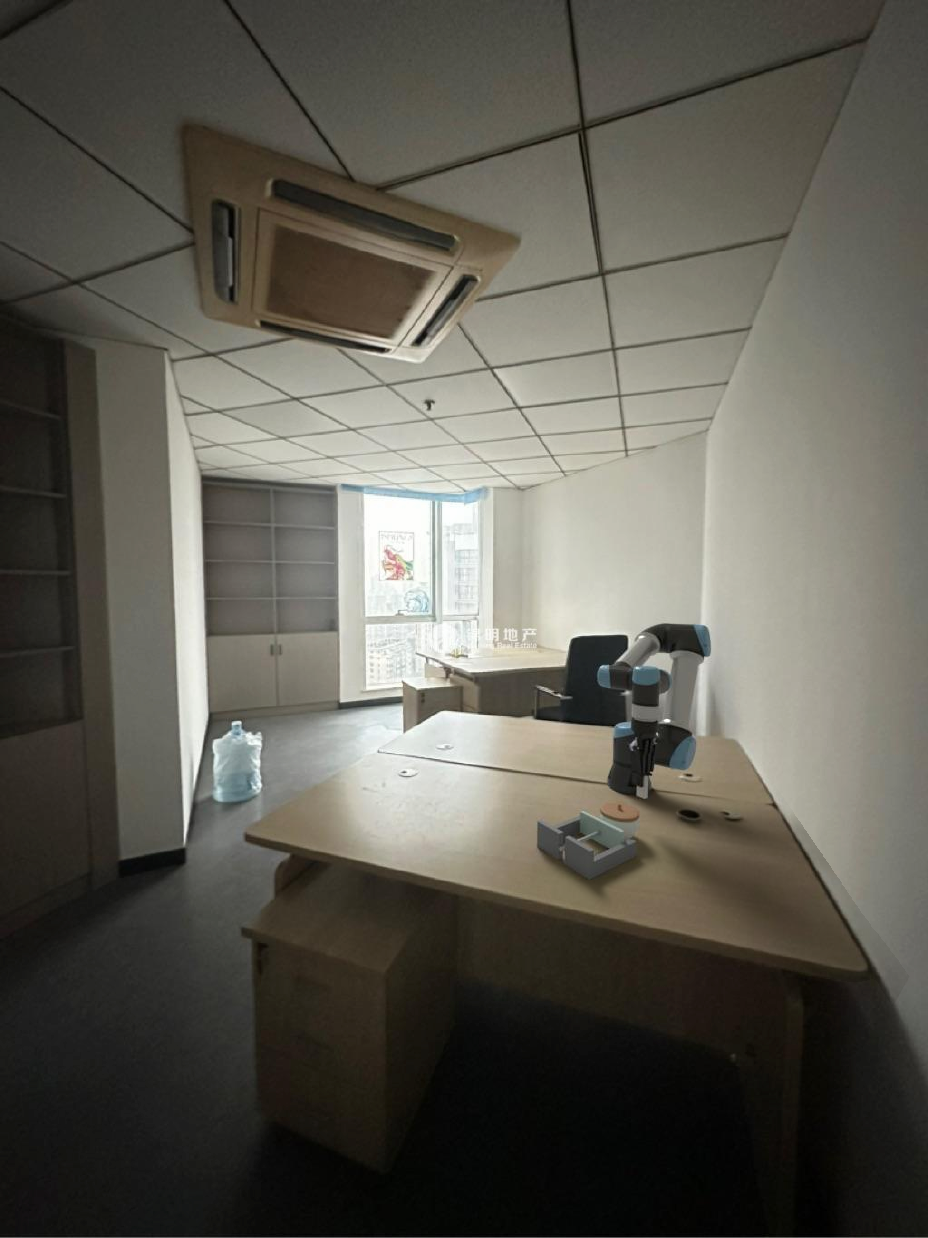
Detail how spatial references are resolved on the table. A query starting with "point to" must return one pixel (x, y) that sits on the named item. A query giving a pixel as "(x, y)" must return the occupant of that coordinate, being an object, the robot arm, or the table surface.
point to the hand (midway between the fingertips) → (642, 796)
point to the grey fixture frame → (580, 849)
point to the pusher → (599, 831)
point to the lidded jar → (621, 817)
